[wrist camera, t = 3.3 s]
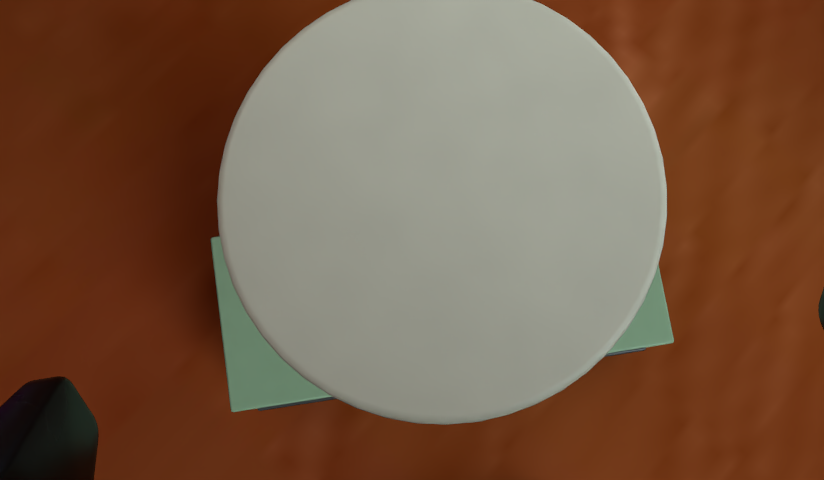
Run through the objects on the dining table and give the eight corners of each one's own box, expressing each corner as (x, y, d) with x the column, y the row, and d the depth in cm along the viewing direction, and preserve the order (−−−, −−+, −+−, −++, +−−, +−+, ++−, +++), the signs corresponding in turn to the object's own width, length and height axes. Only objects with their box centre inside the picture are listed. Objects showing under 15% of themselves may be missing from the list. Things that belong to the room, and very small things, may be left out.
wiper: (634, 348, 17) (1279, 409, 4) (267, 406, 17) (-266, 646, 4) (603, 188, 17) (1082, -221, 4) (247, 245, 18) (-282, 6, 5)
